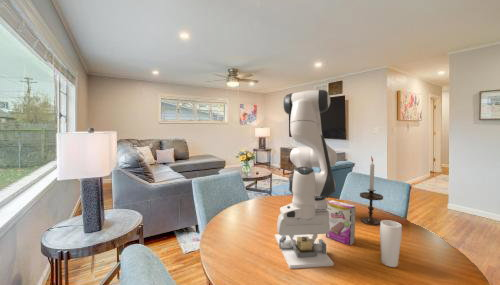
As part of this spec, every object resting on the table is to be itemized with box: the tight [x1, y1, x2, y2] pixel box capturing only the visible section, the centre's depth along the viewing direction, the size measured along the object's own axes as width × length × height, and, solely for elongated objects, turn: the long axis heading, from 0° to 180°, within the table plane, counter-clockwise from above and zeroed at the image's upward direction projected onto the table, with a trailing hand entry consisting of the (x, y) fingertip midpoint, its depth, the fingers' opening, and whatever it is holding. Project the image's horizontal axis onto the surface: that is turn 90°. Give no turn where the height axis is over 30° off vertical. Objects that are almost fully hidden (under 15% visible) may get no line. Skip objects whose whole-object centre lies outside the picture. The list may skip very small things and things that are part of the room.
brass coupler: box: [297, 236, 312, 253], centre depth 90 cm, size 4×4×6 cm
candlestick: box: [359, 155, 384, 227], centre depth 121 cm, size 11×11×35 cm
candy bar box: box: [325, 199, 357, 247], centre depth 101 cm, size 11×5×16 cm, turn 44°
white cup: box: [379, 219, 403, 268], centre depth 84 cm, size 7×7×15 cm
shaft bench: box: [274, 233, 334, 269], centre depth 93 cm, size 17×24×5 cm
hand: (302, 244), depth 90 cm, fingers open, 6 cm apart
